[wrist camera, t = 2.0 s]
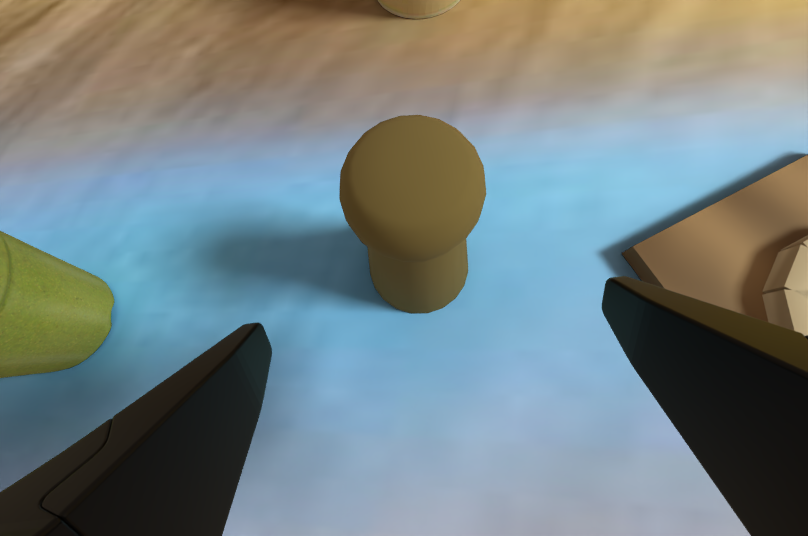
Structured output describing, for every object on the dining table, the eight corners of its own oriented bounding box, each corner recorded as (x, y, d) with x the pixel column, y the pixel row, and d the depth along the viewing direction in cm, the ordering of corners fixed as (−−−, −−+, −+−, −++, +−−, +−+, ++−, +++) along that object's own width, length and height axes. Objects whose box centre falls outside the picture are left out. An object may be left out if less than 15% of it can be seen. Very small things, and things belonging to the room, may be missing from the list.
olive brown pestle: (463, 320, 20) (500, 266, 10) (361, 306, 21) (294, 240, 10) (472, 225, 22) (514, 91, 11) (378, 214, 23) (336, 78, 12)
